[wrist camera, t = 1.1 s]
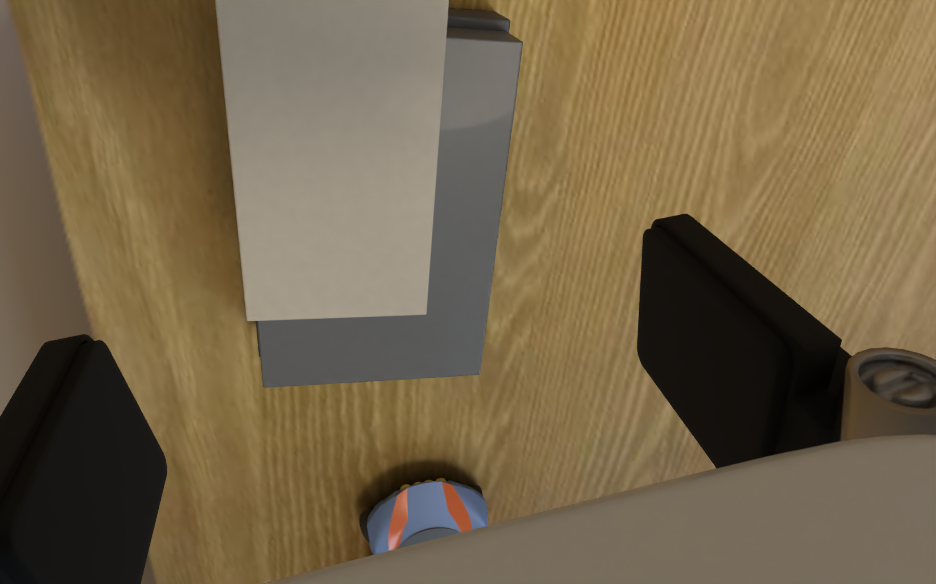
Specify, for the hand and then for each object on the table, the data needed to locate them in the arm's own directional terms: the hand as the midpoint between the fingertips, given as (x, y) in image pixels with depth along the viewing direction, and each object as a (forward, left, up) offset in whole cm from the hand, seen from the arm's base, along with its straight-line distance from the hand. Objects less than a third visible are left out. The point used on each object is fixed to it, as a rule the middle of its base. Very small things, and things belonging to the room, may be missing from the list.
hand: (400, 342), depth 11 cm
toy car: (+14, -26, -18) cm, 34 cm away
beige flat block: (0, -1, -13) cm, 13 cm away
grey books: (+2, -4, -18) cm, 18 cm away
